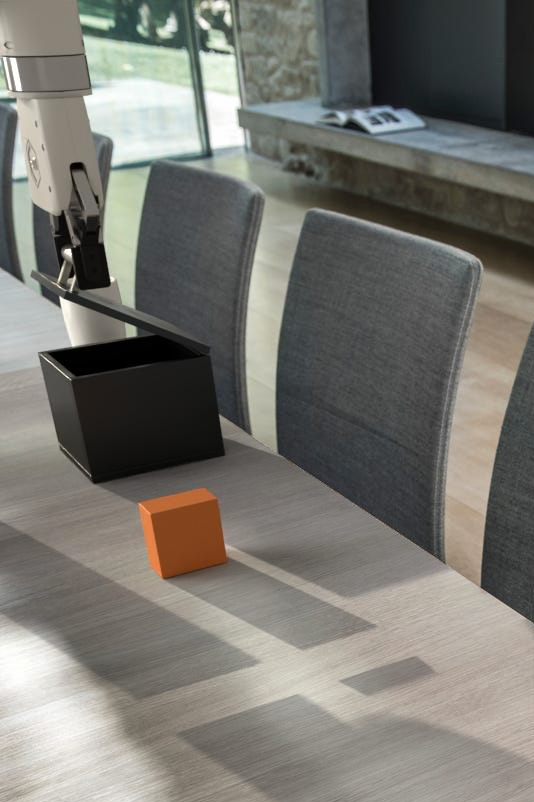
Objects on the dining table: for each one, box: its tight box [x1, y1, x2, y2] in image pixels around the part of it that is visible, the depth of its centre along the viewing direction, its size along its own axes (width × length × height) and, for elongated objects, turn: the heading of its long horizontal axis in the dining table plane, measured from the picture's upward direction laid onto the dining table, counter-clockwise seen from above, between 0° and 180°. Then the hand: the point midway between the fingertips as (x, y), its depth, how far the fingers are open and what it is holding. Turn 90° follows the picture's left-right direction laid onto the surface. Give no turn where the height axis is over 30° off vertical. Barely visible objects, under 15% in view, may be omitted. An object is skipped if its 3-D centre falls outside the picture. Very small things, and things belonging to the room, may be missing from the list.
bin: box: [37, 333, 226, 484], centre depth 124 cm, size 15×13×11 cm
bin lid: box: [29, 243, 212, 355], centre depth 119 cm, size 15×13×5 cm
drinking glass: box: [58, 275, 127, 347], centre depth 136 cm, size 7×7×15 cm
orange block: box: [137, 487, 228, 579], centre depth 101 cm, size 6×3×6 cm, turn 122°
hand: (85, 280), depth 116 cm, fingers closed on bin lid, 5 cm apart
